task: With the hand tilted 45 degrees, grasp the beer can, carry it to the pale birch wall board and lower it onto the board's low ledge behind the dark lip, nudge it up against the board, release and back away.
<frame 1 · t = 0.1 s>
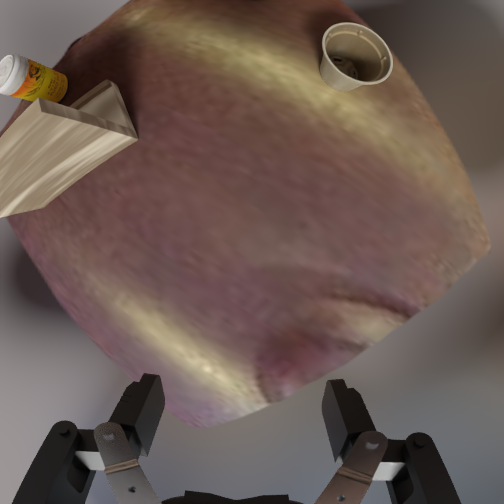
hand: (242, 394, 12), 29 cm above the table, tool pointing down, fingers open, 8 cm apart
flower pot: (339, 73, 34), on the table
beer can: (57, 90, 34), on the table
wall board: (80, 167, 37), on the table
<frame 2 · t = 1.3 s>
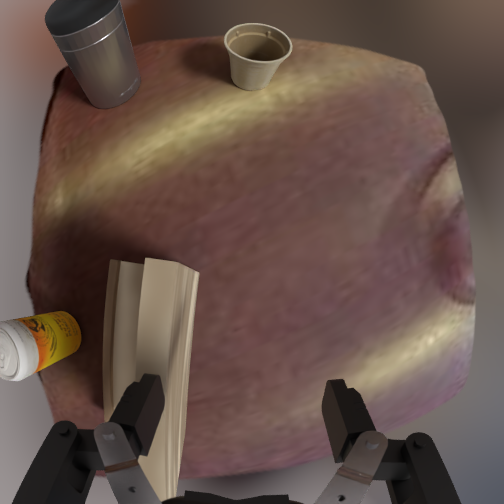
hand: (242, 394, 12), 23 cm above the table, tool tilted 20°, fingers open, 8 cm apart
flower pot: (250, 77, 39), on the table
beer can: (66, 331, 32), on the table
wall board: (178, 356, 33), on the table
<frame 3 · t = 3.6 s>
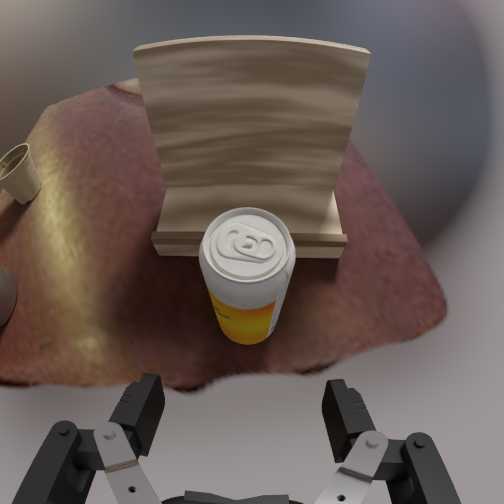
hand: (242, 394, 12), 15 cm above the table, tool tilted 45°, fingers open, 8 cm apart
flower pot: (30, 193, 40), on the table
beer can: (247, 319, 30), on the table
wall board: (249, 199, 38), on the table
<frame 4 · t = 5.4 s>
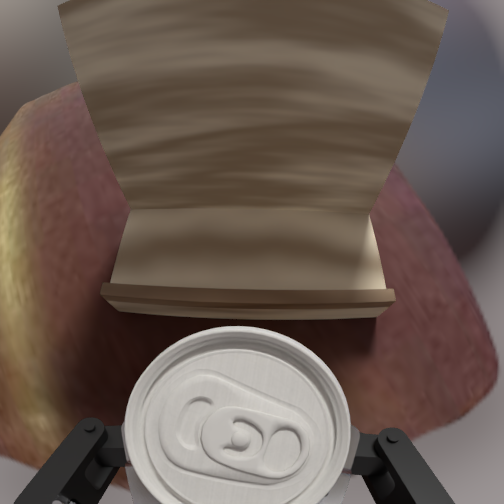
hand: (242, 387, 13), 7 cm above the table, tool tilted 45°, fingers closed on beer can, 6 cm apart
beer can: (244, 414, 18), on the table, touching gripper
wall board: (249, 225, 27), on the table
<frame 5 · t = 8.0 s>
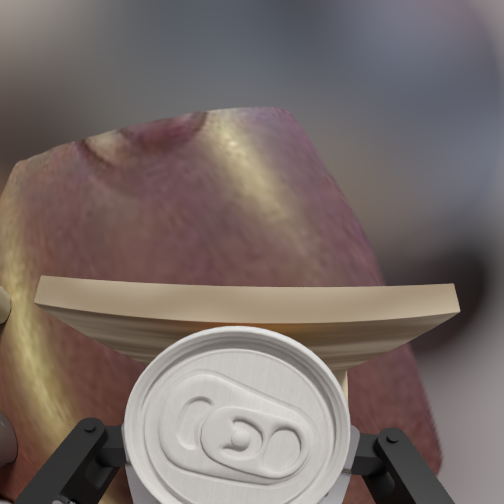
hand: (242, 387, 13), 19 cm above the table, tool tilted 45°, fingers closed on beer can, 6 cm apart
flower pot: (2, 309, 32), on the table
beer can: (244, 414, 18), point 11 cm above the table, touching gripper
wall board: (246, 375, 30), on the table
when the fingers open (11 cm above the table, at t = 10.4 s): beer can stays where it is, resting on wall board.
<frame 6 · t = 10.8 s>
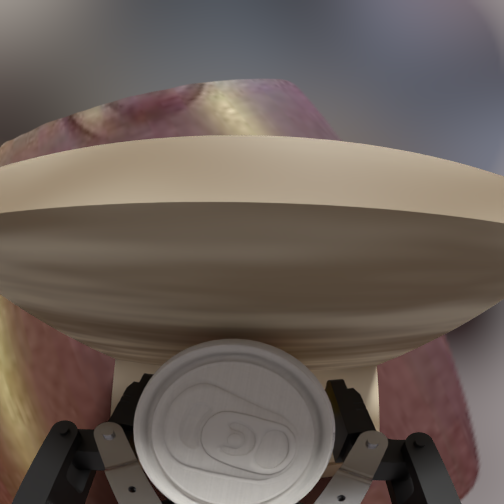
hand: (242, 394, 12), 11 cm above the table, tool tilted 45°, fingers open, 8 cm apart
beer can: (242, 415, 19), point 2 cm above the table, touching wall board
wall board: (245, 374, 23), on the table
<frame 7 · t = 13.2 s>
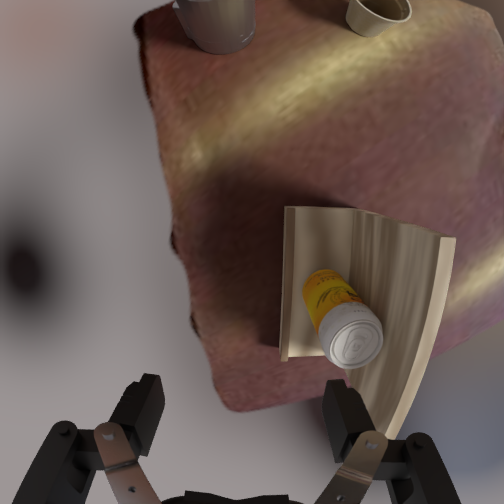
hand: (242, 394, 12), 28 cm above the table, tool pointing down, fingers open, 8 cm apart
flower pot: (362, 23, 31), on the table
beer can: (322, 288, 38), point 2 cm above the table, touching wall board
wall board: (342, 282, 40), on the table
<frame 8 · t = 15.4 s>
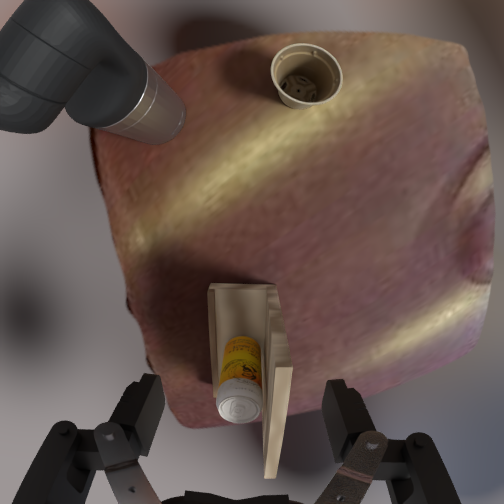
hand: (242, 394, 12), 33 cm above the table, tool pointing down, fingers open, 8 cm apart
flower pot: (297, 91, 38), on the table
beer can: (242, 347, 46), point 2 cm above the table, touching wall board
wall board: (263, 341, 49), on the table
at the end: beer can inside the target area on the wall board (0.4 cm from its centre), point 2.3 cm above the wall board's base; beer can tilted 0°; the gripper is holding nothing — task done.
